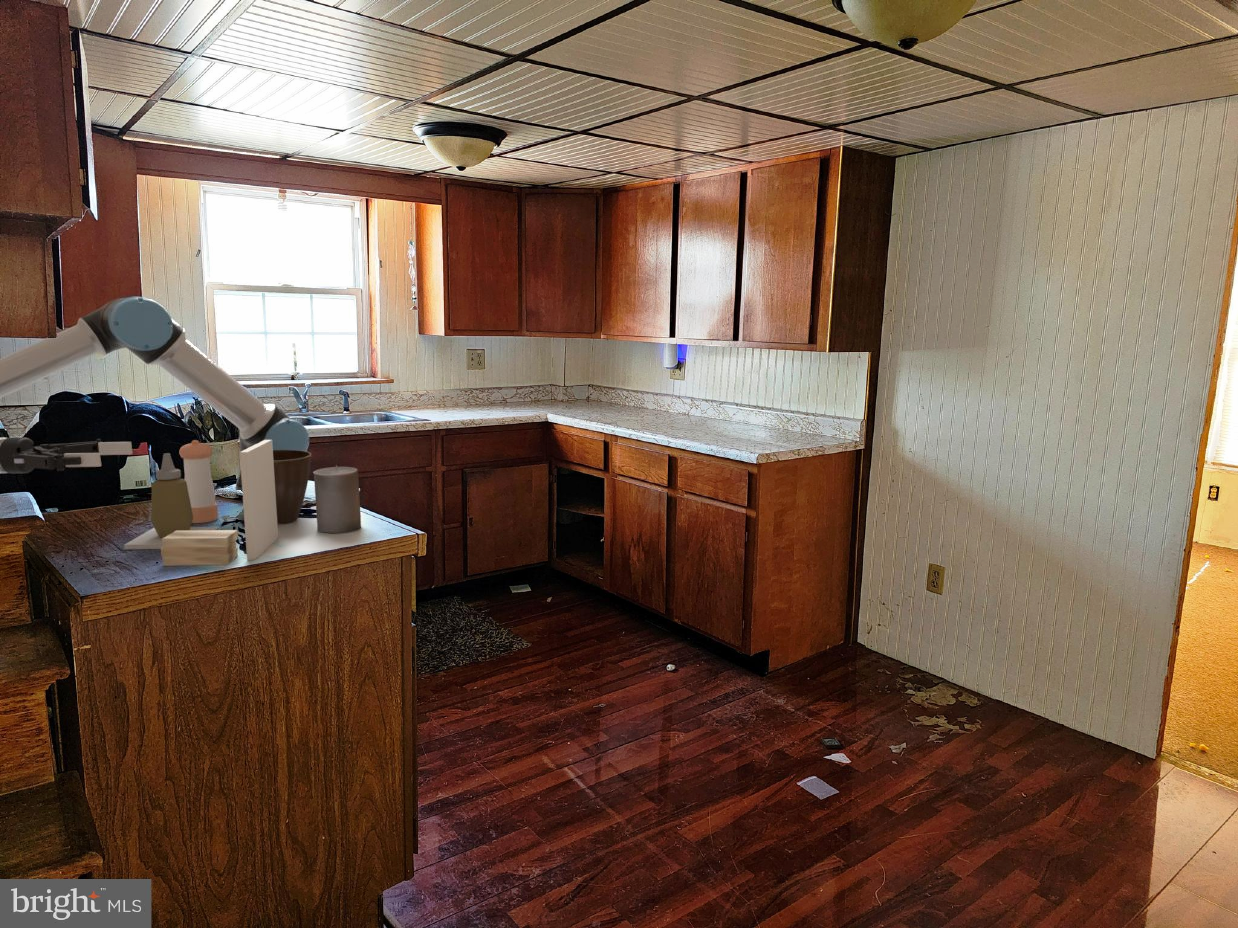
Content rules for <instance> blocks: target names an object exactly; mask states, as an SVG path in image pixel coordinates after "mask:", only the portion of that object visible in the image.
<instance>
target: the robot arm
mask: <svg viewBox="0 0 1238 928" xmlns="http://www.w3.org/2000/svg"><path fill="white" fill-rule="evenodd" d="M56 334H57V337H56V338H48V337H47V338H44V339H41V340H39V341H38V342H35V343H33V344H30V345H28V346H26V347H24V348H21V349H19V350H17V351H15V352H12V353H9V354H8V355H6V356H4V357H1V358H0V399H2V398H4V397H6V396H9V395H11V394H13V393H15V392H17V391H19V390H21V389H23V388H26V387H28V386H30V385H33V384H35V383H37V382H39V381H42V380H43V379H46V378H47V377H50V376H51V375H53V374H56V373H58V372H61V371H62V370H64V369H67V368H70V367H71V366H73V365H76V364H77V363H80V362H82V361H85V360H86V359H88V358H91V357H93V356H95V355H102V356H106V355H108V354H110V353H112V352H115V351H118V350H120V349H127V350H128V351H130V353H133V354H134V355H135V356H137V358H139V359H140V360H141V361H143V362H144V363H145V364H146V365H149V366H150V365H152V366H153V365H155V366H160V367H161V368H162V369H163V370H164V371H166V372H167V373H169V374H170V375H171V376H172V377H173V378H175V379H176V380H177V381H178V382H180V383H181V384H182V385H184V387H186V388H187V389H188V390H190V391H192V392H193V393H194V394H195V395H196V396H198V398H199V399H202V401H204V402H205V403H206V404H207V405H208V406H210V407H211V408H213V409H214V410H215V411H216V412H218V413H219V414H220V415H221V416H222V417H224V419H225V418H226V420H227V421H229V422H231V424H233V425H234V426H236V428H238V429H237V430H238V439H239V441H238V442H239V453H240V452H241V451H243V450H245V449H247V448H249V447H251V446H253V445H255V444H257V443H259V442H261V441H264V440H272V445H273V450H300V451H307V452H308V449H309V446H310V435H309V432H308V430H307V428H306V427H305V425H303V423H301V422H300V421H298V420H297V419H293V418H291V417H290V416H289V415H287V414H286V413H285V411H284V410H283V408H279V407H278V406H276V405H275V404H274V403H264V402H262V401H261V400H260V399H258V397H256V396H255V395H254V394H253V393H252V392H250V391H249V390H248V389H247V388H246V387H244V386H243V385H242V384H241V383H239V381H237V380H236V379H235V378H233V377H232V376H231V375H230V374H229V373H227V372H226V370H224V369H223V368H222V367H220V365H218V364H217V363H215V362H214V361H213V360H212V359H210V357H208V355H206V354H205V353H203V352H202V350H200V349H199V348H197V347H196V346H195V345H194V344H193V343H192V342H191V341H189V340H188V339H187V338H186V331H185V328H184V327H183V326H181V325H180V324H179V323H178V322H177V321H176V320H175V319H173V318H172V317H171V315H170V314H169V311H168V310H167V309H166V308H165V307H164V306H163V305H161V304H160V303H159V302H157V301H155V300H154V299H151V298H148V297H144V296H136V295H135V296H129V297H127V296H126V297H118V298H116V299H113V300H111V301H110V302H107V303H106V304H104V305H102V306H101V307H100V308H98V309H96V310H94V311H92V312H91V313H88V314H87V315H84V316H81V317H79V318H78V320H77V324H76V325H73V326H71V327H69V328H67V329H65V330H62V331H60V332H58V333H56ZM132 447H133V446H132V441H106V442H105V441H104V442H103V441H102V439H101V438H96V440H95V441H83V442H81V441H79V442H69V443H67V442H65V443H50V444H48V443H46V444H45V443H43V444H40V445H37V446H36V444H35V442H34V441H33V440H32V439H31V438H29V437H25V436H23V437H16V436H15V437H4V436H2V437H0V474H28V473H30V472H32V471H33V470H34V469H42V470H50V471H51V470H55V469H56V471H57V472H63V471H65V468H90V467H91V468H93V467H94V468H96V467H102V461H101V459H102V458H101V456H113V455H114V456H115V455H116V456H120V455H121V456H123V455H128V456H129V455H132V454H133V453H134V452H133V448H132ZM64 466H65V467H64ZM236 479H237V480H236V483H235V491H236V490H241V491H242V478H241V467H240V469H239V473H238V476H237V478H236Z"/></svg>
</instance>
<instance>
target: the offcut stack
mask: <svg viewBox="0 0 1238 928" xmlns="http://www.w3.org/2000/svg"><path fill="white" fill-rule="evenodd" d="M162 540H163V547H162V548H161V549H160V554H161V555H160V556H161V558H162V565H163V567H164V566H168V567H169V566H171V567H172V566H214V565H215V566H217V565H219V566H220V565H229V564H230V563H231V562H233V560H235V559H236V558H237V557H239V552H238V547H237V543H236V542H237V540H239V531H238V529H231V530H230V529H220V530H176V531H174V532H173V533H171V534H169V535H168V536H166V537H164V538H162Z"/></svg>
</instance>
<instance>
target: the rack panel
mask: <svg viewBox="0 0 1238 928" xmlns="http://www.w3.org/2000/svg"><path fill="white" fill-rule="evenodd" d="M239 461H240V468H241V478H242V492H243V497H242V503H243V517H244V518H243V519H244V533H245V548H246V549H245V550H246V560H247V561H249V560H250V561H251V560H252V561H254V560H257V558H259V557H260V556H261V555H262V554H263V553H264V552H265V551H266V550H267V549H268V548H270V547H271V545H273V544H274V543H275V542H276V541H277V540H279V529H278V526H279V525H278V524H277V510H276V494H275V477H274V461H273V445H272V440H264V441H261V442H259V443H257V444H255V445H253V446H251V447H249V448H247V449H245V450H243V451H241V452H240V451H239Z"/></svg>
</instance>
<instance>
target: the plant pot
mask: <svg viewBox="0 0 1238 928" xmlns="http://www.w3.org/2000/svg"><path fill="white" fill-rule="evenodd" d="M273 461H274V477H275V494H276V510H277V525H284V524H285V525H286V524H289V523H294V522H296V521H298V519H299V515H300V513H301V509H302V507H303V503H304V499H305V496H306V492H307V487H308V482H309V477H310V472H311V464H312V463H311V462H312V452H309V451H308V450H307V451H300V450H273Z"/></svg>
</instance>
